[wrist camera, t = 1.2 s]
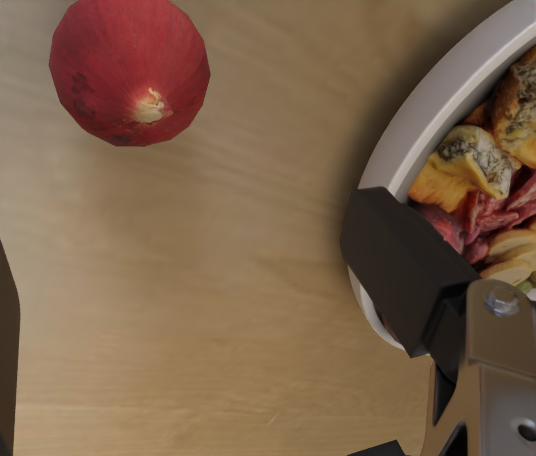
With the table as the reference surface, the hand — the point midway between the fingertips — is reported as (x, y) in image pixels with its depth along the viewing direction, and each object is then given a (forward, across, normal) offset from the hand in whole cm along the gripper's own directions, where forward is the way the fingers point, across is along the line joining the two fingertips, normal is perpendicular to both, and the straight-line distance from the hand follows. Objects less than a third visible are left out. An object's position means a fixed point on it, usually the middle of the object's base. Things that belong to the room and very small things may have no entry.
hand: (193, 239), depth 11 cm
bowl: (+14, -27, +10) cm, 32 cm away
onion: (+14, 0, 0) cm, 14 cm away
